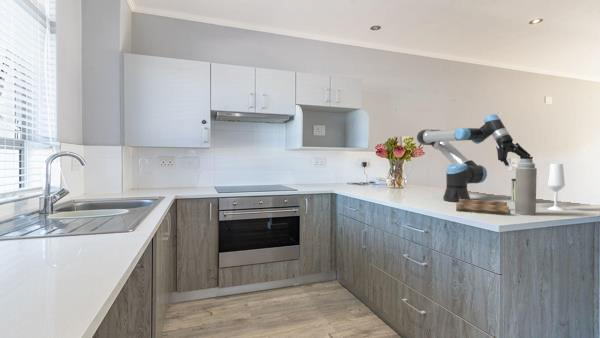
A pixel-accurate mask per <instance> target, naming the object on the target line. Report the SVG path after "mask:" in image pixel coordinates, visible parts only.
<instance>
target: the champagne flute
mask: <svg viewBox="0 0 600 338" xmlns="http://www.w3.org/2000/svg"><path fill="white" fill-rule="evenodd" d="M565 185H566V183H565V173H564V164H563V163H550V165H549V172H548V179H547V186H548V188H549V189H551V190H552V191H553V192H554V193H553V195H554V196H553V198H554V199H553V206H551V207H547V210H550V211H556V212H557V211H558V212H561V211H565V210H564V209H562V208H561V207H559V206H558V192H559V191H561V190H562V189H563V188H564V187H565Z"/></svg>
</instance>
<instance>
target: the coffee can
mask: <svg viewBox="0 0 600 338" xmlns="http://www.w3.org/2000/svg"><path fill="white" fill-rule="evenodd" d="M515 185H516V178H511V202H512V203H515Z"/></svg>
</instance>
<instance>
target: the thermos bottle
mask: <svg viewBox="0 0 600 338" xmlns="http://www.w3.org/2000/svg"><path fill="white" fill-rule="evenodd" d="M533 159H534V158H533V156H530V157H520V156H519V162H518V163H517V167H515V179H516V185H515V202H514V214H517V215H521V216H536V213H537V212H536V211H537V173H538V172H537V171H538V170H537V167H536V163H534V161H533Z"/></svg>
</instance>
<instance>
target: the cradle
mask: <svg viewBox="0 0 600 338" xmlns="http://www.w3.org/2000/svg"><path fill="white" fill-rule="evenodd" d="M455 203H456V205H455V206H456V208H455V209H456V210H455V211H456V212H461V213H462V212H463V213H464V212H465V213H474V214H475V213H476V214H487V215H499V216H509V215H510V213H509V209H510V207H509V205H508V202H507V201H498V200H497V201H494V200H482V199H481V200H480V199H479V200H478V199H470V200H466V199H459V202H455Z"/></svg>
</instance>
